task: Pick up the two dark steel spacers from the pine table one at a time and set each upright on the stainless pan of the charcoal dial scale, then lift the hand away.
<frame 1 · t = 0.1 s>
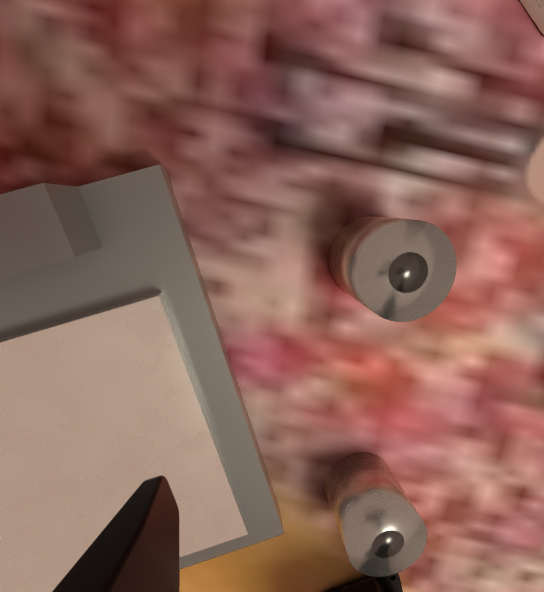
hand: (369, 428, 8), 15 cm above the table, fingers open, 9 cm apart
steel spacer 1: (357, 482, 27), on the table
steel spacer 2: (368, 257, 22), on the table
kitchen scale: (73, 412, 22), on the table
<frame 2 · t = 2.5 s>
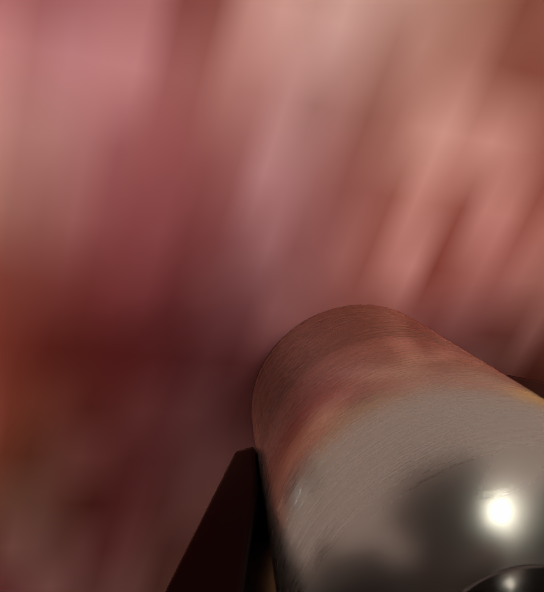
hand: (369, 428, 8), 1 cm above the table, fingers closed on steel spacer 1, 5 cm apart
steel spacer 1: (352, 402, 9), on the table, touching gripper
when the fingers open (5 cm above the table, at t = 6.6 s): steel spacer 1 drops 1 cm, resting on kitchen scale.
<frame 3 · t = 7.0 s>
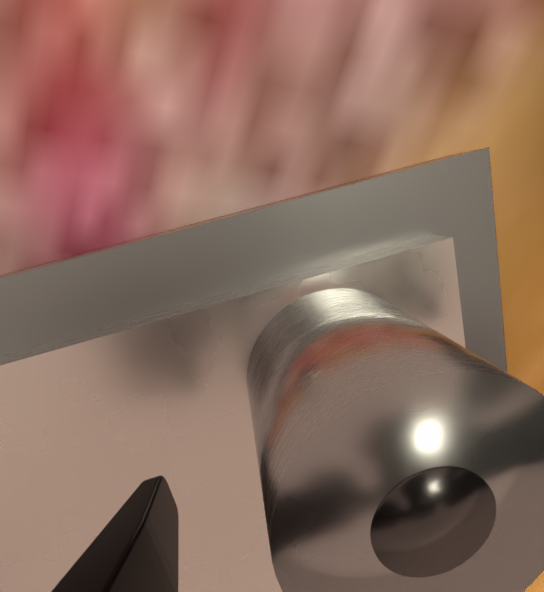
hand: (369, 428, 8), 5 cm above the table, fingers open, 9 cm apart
steel spacer 1: (334, 373, 10), point 3 cm above the table, touching kitchen scale
kitchen scale: (191, 497, 14), on the table
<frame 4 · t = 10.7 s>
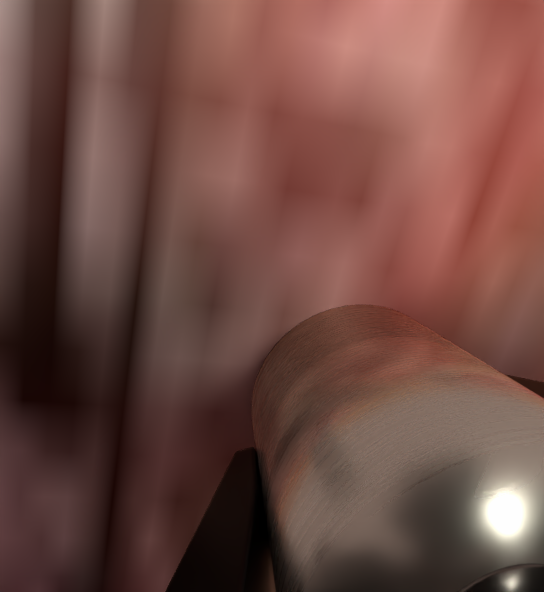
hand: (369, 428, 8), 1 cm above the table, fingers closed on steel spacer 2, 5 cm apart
steel spacer 2: (352, 402, 9), on the table, touching gripper
when the fingers open (5 cm above the table, at t = 15.4 s): steel spacer 2 drops 1 cm, resting on kitchen scale.
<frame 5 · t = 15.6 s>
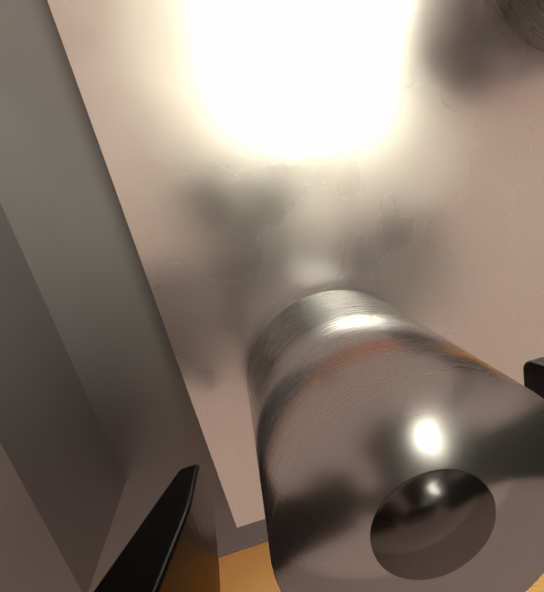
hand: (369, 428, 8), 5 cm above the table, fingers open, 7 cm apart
steel spacer 2: (334, 375, 10), point 3 cm above the table, touching kitchen scale
kitchen scale: (340, 216, 12), on the table
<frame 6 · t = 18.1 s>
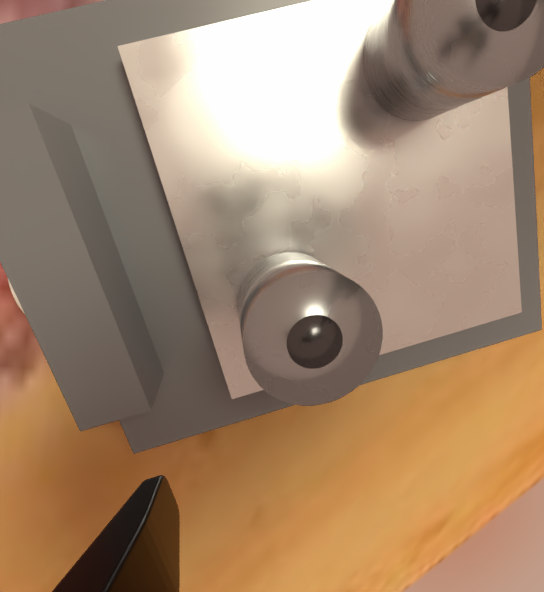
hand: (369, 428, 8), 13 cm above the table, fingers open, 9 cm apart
steel spacer 1: (418, 57, 16), point 3 cm above the table, touching kitchen scale
steel spacer 2: (289, 303, 18), point 3 cm above the table, touching kitchen scale
kitchen scale: (297, 210, 19), on the table
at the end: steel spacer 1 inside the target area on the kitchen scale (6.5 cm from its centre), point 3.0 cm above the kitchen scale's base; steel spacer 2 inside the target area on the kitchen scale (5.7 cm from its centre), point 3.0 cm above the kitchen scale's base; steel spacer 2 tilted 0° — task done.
